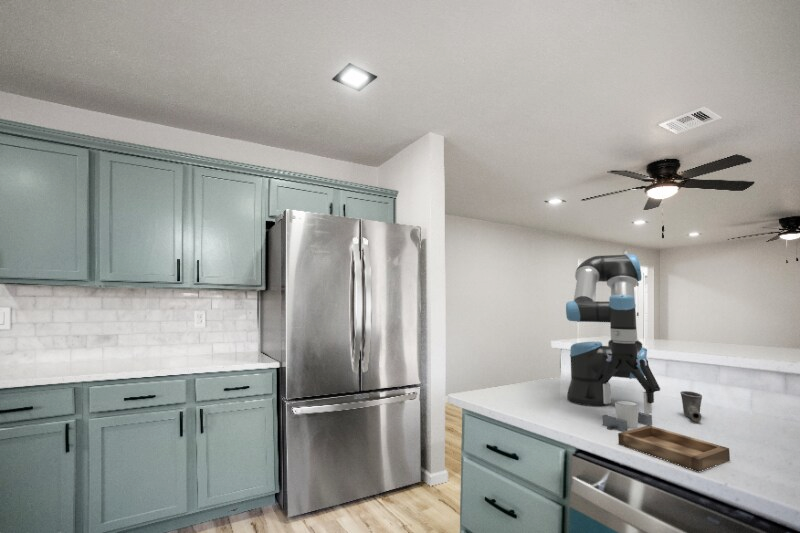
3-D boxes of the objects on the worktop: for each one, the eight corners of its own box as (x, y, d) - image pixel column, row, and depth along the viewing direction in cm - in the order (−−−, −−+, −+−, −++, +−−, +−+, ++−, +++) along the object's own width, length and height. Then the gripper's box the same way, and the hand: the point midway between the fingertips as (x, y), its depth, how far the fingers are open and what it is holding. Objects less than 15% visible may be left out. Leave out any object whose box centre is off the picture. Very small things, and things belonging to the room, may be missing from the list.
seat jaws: (598, 426, 125) (598, 416, 125) (634, 417, 133) (634, 408, 134) (619, 432, 119) (619, 422, 119) (655, 423, 127) (655, 414, 128)
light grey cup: (631, 429, 121) (630, 406, 122) (610, 423, 127) (609, 401, 128) (644, 426, 125) (643, 404, 125) (623, 420, 131) (622, 399, 131)
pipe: (686, 422, 128) (684, 398, 129) (680, 412, 140) (678, 389, 140) (709, 425, 125) (707, 400, 126) (701, 415, 137) (699, 391, 137)
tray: (618, 444, 110) (618, 433, 110) (649, 435, 116) (648, 425, 117) (699, 472, 92) (698, 459, 92) (729, 460, 99) (729, 448, 99)
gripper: (583, 339, 137) (585, 400, 135) (656, 346, 115) (660, 419, 113) (596, 338, 141) (599, 398, 139) (670, 345, 119) (674, 416, 117)
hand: (626, 408), depth 126 cm, fingers open, 13 cm apart
